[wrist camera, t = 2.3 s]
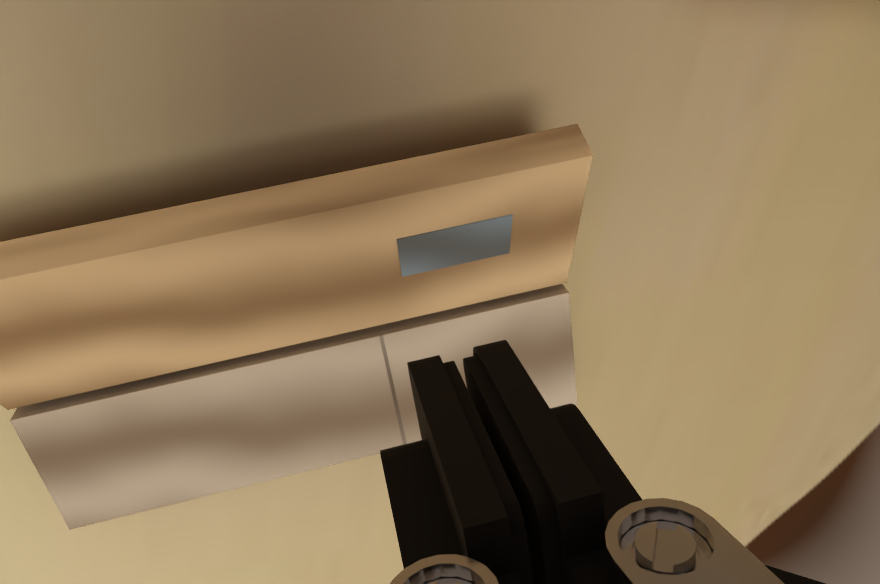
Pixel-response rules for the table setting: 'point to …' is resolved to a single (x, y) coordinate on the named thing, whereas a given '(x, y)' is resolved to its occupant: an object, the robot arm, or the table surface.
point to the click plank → (286, 264)
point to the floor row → (274, 408)
